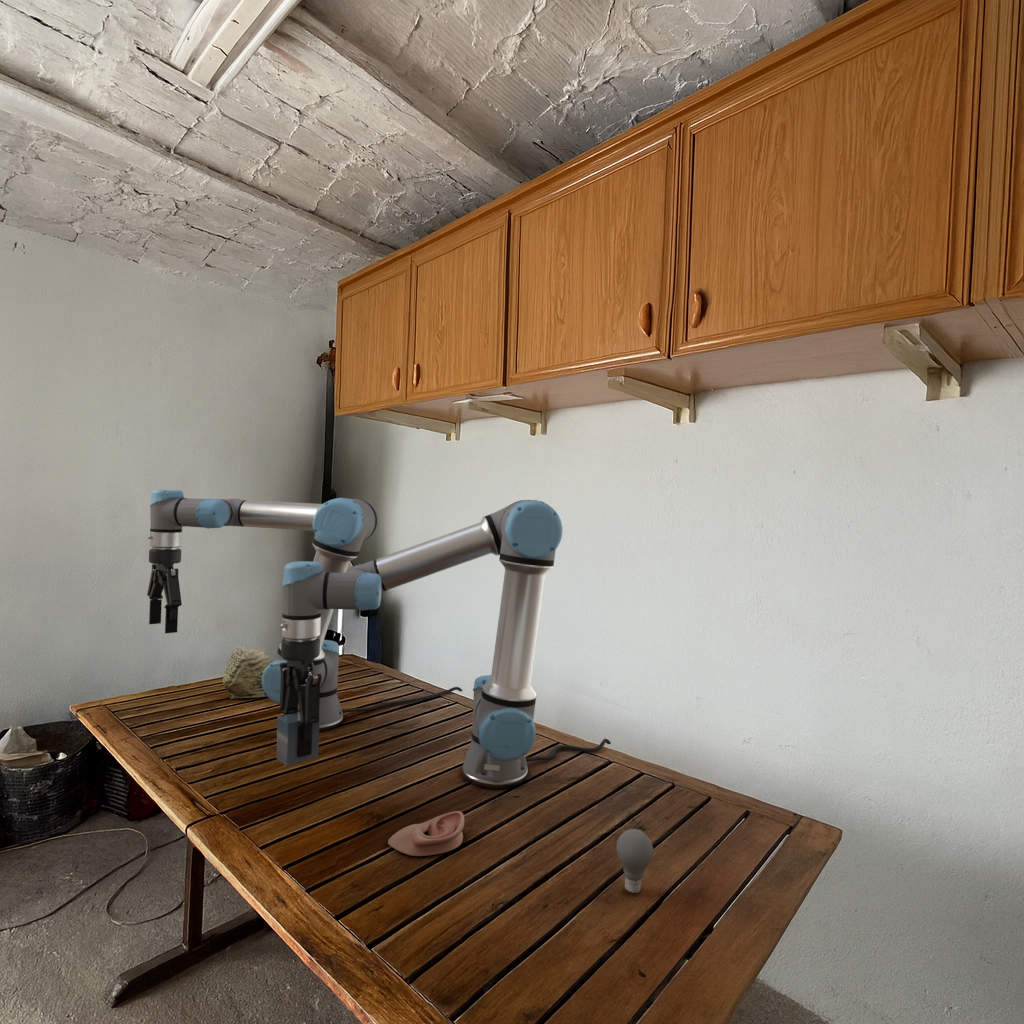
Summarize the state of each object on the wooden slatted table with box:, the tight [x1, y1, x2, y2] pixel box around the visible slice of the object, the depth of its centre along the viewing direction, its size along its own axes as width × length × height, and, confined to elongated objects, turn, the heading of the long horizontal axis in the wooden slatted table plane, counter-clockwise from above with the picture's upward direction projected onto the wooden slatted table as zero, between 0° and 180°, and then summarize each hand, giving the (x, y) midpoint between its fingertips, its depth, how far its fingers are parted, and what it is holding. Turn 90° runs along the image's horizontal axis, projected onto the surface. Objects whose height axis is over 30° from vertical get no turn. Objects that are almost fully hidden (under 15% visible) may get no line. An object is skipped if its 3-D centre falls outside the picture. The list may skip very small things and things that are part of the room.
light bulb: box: [615, 828, 654, 894], centre depth 106 cm, size 6×6×10 cm
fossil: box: [222, 646, 274, 699], centre depth 198 cm, size 9×18×15 cm, turn 132°
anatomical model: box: [387, 810, 465, 857], centre depth 118 cm, size 13×4×12 cm
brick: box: [275, 712, 320, 767], centre depth 129 cm, size 5×7×9 cm
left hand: (162, 628), depth 168 cm, fingers open, 13 cm apart
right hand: (297, 750), depth 129 cm, fingers closed on brick, 5 cm apart
